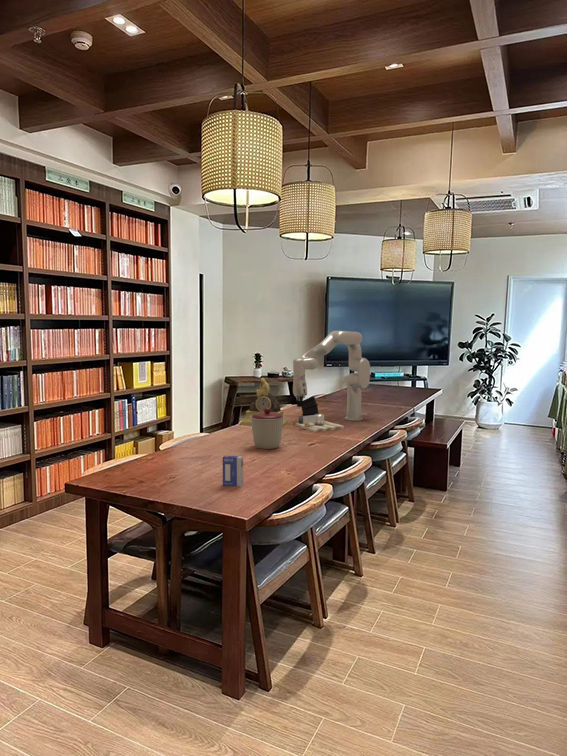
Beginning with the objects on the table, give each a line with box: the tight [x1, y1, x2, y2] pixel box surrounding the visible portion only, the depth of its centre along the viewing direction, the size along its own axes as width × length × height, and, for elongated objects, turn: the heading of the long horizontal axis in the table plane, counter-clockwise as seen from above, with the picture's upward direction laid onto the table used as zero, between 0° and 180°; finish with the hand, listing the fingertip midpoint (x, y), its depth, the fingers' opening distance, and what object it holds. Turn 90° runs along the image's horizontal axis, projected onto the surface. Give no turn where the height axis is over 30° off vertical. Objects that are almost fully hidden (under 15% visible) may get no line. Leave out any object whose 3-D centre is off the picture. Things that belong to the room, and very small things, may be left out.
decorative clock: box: [239, 377, 289, 429], centre depth 334 cm, size 28×13×30 cm, turn 74°
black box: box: [301, 395, 320, 416], centre depth 361 cm, size 4×13×15 cm, turn 74°
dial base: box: [294, 420, 345, 433], centre depth 328 cm, size 22×22×3 cm
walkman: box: [222, 455, 244, 488], centre depth 208 cm, size 8×3×12 cm, turn 81°
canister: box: [250, 408, 286, 450], centre depth 273 cm, size 18×18×21 cm
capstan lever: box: [298, 413, 325, 425], centre depth 323 cm, size 19×6×6 cm, turn 127°
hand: (299, 406), depth 332 cm, fingers closed
